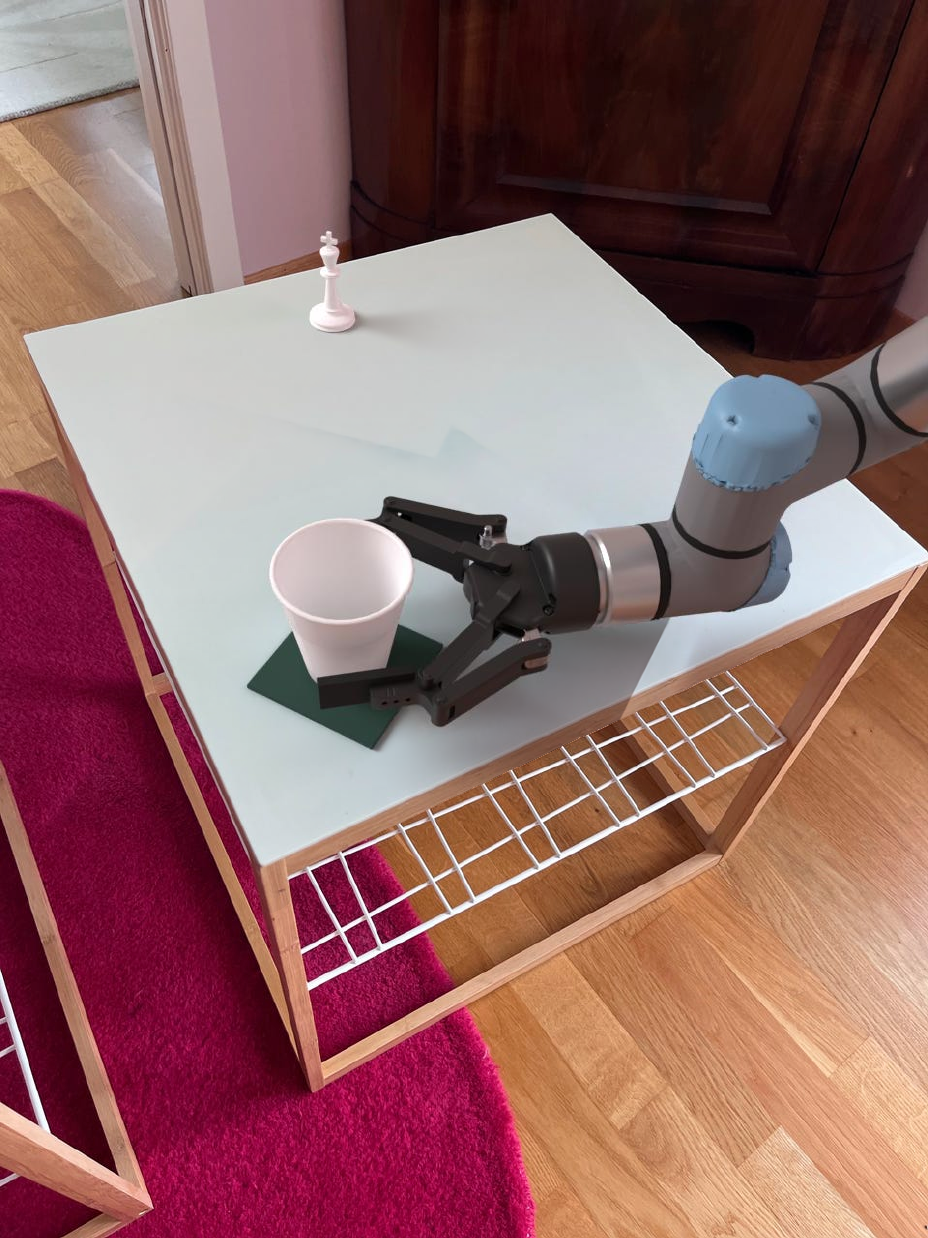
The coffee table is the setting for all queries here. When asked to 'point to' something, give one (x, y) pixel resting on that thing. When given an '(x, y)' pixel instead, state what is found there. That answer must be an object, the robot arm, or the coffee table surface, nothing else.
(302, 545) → the cup
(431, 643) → the mat
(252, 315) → the coffee table surface
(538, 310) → the coffee table surface
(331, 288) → the chess piece
